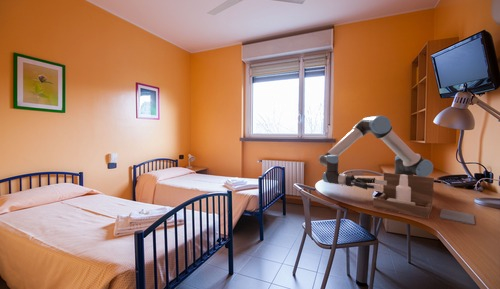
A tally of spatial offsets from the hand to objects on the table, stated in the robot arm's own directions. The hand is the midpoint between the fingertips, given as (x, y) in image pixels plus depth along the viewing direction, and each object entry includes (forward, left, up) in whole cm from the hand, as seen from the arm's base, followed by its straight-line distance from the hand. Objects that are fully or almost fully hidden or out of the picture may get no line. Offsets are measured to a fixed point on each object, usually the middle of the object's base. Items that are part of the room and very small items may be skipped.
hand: (383, 185), depth 129 cm
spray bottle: (0, +10, -11) cm, 14 cm away
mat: (0, +31, -10) cm, 33 cm away
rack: (0, +10, -10) cm, 14 cm away
